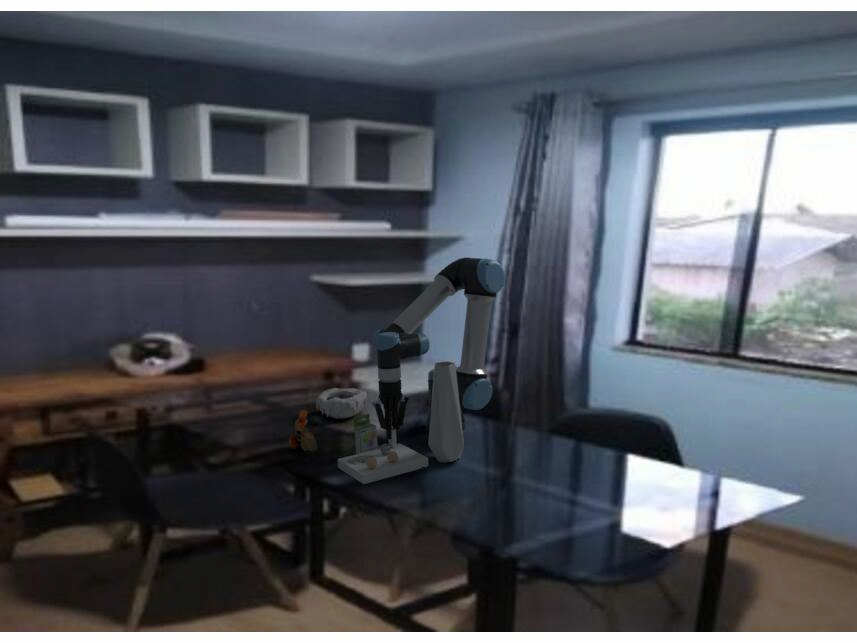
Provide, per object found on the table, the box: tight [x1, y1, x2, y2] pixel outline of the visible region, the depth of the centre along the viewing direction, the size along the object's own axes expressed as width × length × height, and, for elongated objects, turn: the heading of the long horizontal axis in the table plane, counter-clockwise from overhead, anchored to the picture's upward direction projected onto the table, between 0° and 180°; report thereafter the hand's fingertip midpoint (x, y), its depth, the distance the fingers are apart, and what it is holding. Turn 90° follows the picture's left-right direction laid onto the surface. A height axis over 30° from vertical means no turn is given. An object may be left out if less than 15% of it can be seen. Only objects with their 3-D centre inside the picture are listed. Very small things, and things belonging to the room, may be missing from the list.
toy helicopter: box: [288, 409, 318, 452], centre depth 272 cm, size 8×21×14 cm, turn 25°
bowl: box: [315, 387, 368, 420], centre depth 314 cm, size 21×20×10 cm
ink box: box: [353, 413, 379, 455], centre depth 269 cm, size 7×4×13 cm, turn 131°
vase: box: [428, 360, 465, 463], centre depth 258 cm, size 12×12×33 cm
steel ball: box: [380, 443, 391, 454], centre depth 260 cm, size 4×4×4 cm
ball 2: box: [387, 451, 398, 462], centre depth 252 cm, size 4×4×4 cm
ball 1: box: [366, 457, 377, 469], centre depth 248 cm, size 4×4×4 cm
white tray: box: [337, 443, 429, 485], centre depth 257 cm, size 24×18×3 cm
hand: (392, 447), depth 261 cm, fingers closed
